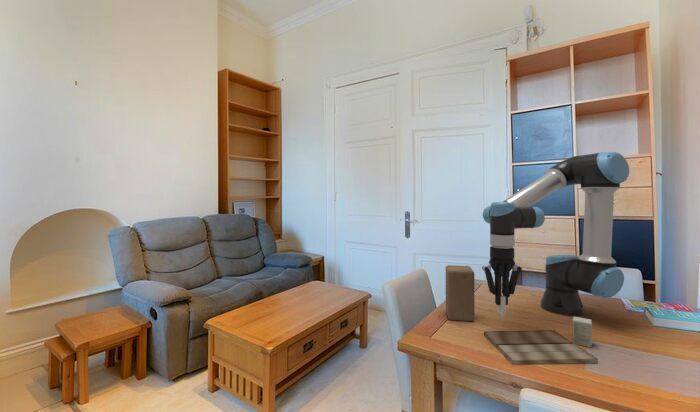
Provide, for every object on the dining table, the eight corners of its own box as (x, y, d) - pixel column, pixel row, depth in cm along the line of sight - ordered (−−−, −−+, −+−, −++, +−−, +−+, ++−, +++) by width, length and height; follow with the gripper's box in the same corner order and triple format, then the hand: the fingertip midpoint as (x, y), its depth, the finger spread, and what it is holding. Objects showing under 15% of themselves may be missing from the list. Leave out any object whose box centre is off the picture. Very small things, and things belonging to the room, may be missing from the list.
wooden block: (474, 322, 120) (474, 271, 120) (448, 320, 122) (447, 270, 122) (470, 312, 130) (470, 265, 130) (445, 311, 132) (445, 264, 132)
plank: (554, 333, 110) (554, 330, 110) (572, 346, 101) (572, 341, 101) (484, 335, 109) (484, 331, 109) (496, 347, 100) (496, 343, 100)
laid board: (575, 347, 100) (575, 343, 100) (597, 362, 91) (597, 358, 91) (497, 349, 99) (497, 345, 99) (512, 364, 90) (512, 360, 90)
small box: (591, 342, 103) (592, 319, 102) (591, 348, 99) (591, 323, 99) (572, 338, 106) (573, 315, 106) (572, 343, 102) (572, 319, 102)
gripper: (514, 244, 111) (514, 309, 111) (478, 244, 110) (478, 310, 111) (527, 248, 103) (526, 318, 104) (488, 248, 103) (487, 318, 104)
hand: (501, 314), depth 108 cm, fingers closed
